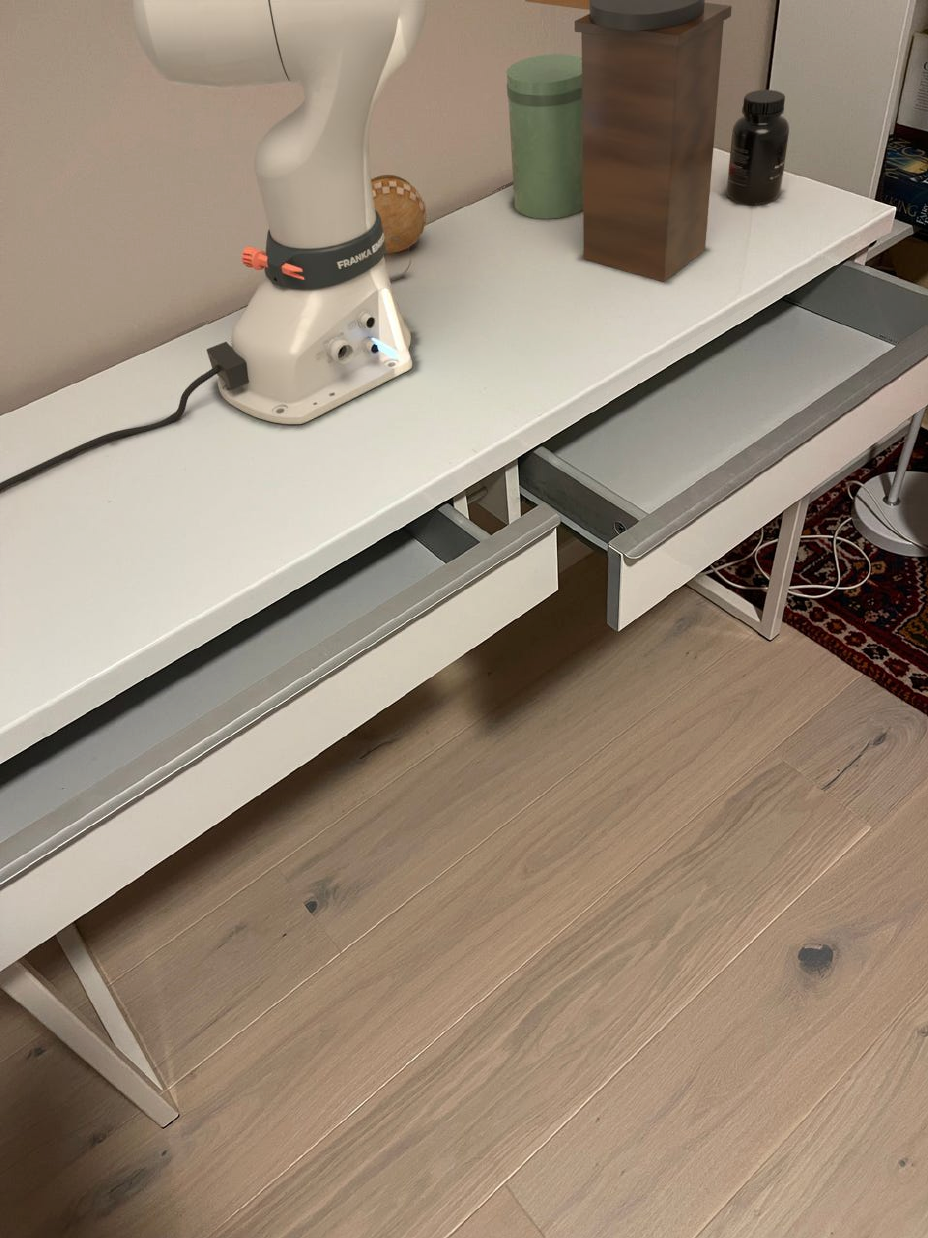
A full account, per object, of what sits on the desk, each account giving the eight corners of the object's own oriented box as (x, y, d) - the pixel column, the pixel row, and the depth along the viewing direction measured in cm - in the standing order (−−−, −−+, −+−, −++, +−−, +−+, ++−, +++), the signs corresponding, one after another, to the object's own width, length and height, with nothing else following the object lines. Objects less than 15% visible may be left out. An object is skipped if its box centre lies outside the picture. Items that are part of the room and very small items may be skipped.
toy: (445, 282, 122) (432, 204, 130) (417, 222, 115) (405, 143, 122) (375, 308, 124) (367, 230, 132) (343, 251, 117) (336, 172, 124)
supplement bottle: (785, 204, 127) (799, 103, 118) (730, 208, 127) (740, 108, 118) (774, 181, 131) (787, 83, 123) (722, 185, 132) (731, 88, 123)
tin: (559, 225, 128) (556, 88, 117) (498, 208, 133) (488, 75, 122) (605, 194, 133) (606, 60, 122) (544, 180, 138) (539, 49, 127)
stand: (665, 285, 115) (679, 35, 97) (577, 259, 122) (574, 20, 103) (711, 249, 120) (732, 5, 102) (623, 226, 126) (628, -8, 108)
